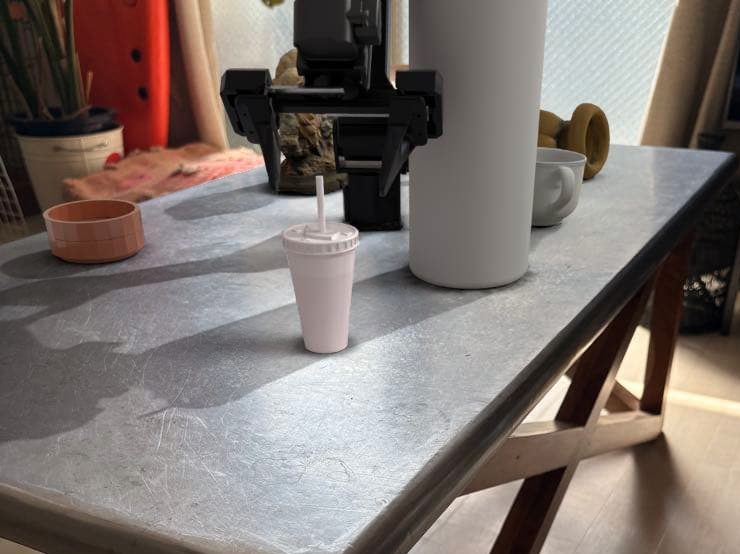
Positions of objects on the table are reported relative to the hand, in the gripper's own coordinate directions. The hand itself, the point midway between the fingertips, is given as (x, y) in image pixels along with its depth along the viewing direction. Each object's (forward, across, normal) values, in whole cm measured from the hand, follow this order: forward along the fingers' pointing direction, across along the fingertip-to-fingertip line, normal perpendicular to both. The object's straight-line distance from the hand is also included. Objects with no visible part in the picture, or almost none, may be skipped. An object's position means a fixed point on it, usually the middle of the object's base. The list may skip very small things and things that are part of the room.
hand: (327, 192), depth 74 cm
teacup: (-17, +20, +33) cm, 42 cm away
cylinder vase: (-3, +12, +20) cm, 23 cm away
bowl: (-6, -30, +23) cm, 38 cm away
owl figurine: (-31, -11, +47) cm, 57 cm away
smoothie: (+12, 0, +5) cm, 13 cm away
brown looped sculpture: (-36, +18, +52) cm, 66 cm away
